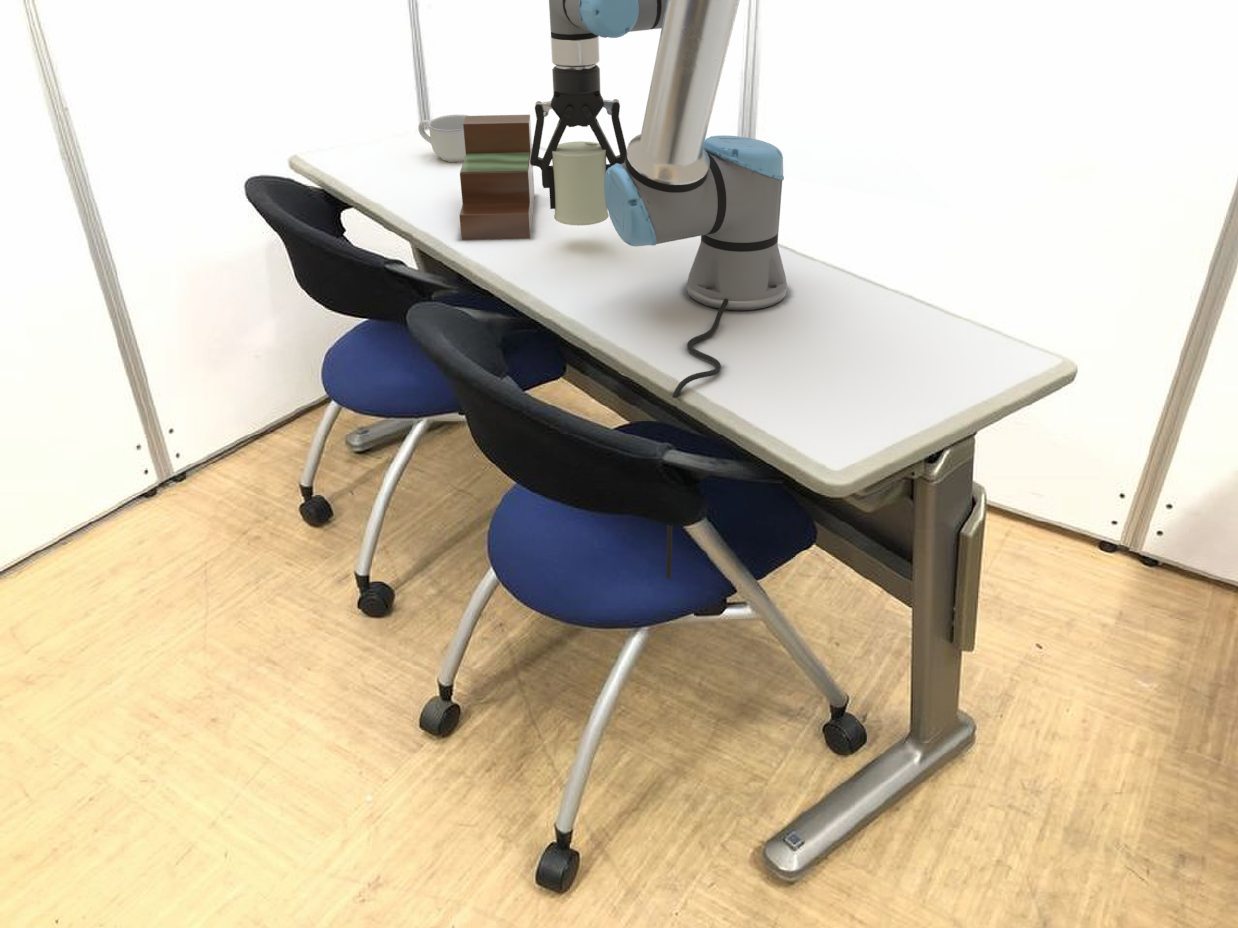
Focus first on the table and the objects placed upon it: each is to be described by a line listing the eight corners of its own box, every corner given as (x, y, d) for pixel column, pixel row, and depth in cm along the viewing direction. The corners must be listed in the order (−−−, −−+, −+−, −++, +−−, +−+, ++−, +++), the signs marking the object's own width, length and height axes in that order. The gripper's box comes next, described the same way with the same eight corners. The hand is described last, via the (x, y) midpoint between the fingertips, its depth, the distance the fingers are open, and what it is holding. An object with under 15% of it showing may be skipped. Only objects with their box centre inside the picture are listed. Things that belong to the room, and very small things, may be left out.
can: (619, 215, 178) (618, 144, 172) (582, 229, 172) (579, 156, 166) (580, 205, 183) (577, 135, 177) (543, 218, 177) (538, 146, 171)
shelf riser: (530, 238, 184) (525, 150, 176) (461, 240, 184) (453, 151, 175) (534, 195, 204) (530, 114, 196) (472, 197, 204) (465, 116, 196)
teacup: (491, 155, 228) (489, 118, 224) (460, 168, 220) (456, 129, 216) (442, 147, 235) (439, 110, 230) (410, 159, 227) (405, 121, 223)
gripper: (642, 59, 168) (643, 197, 180) (508, 62, 168) (518, 200, 180) (645, 68, 162) (646, 210, 174) (506, 71, 162) (516, 214, 173)
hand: (581, 205), depth 177 cm, fingers closed on can, 9 cm apart
